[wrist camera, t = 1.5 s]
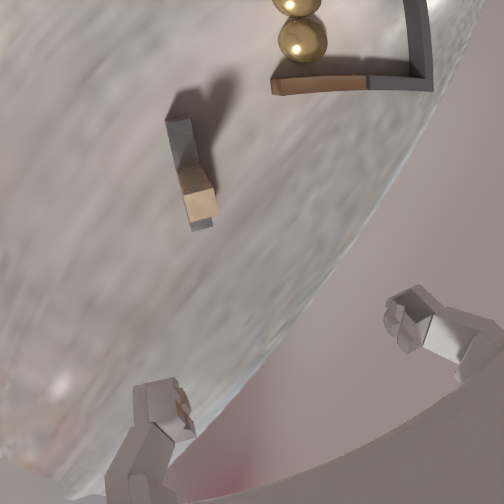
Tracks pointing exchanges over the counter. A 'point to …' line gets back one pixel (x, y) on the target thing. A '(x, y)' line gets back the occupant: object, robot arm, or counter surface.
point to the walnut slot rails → (317, 84)
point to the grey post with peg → (191, 174)
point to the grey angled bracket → (411, 54)
